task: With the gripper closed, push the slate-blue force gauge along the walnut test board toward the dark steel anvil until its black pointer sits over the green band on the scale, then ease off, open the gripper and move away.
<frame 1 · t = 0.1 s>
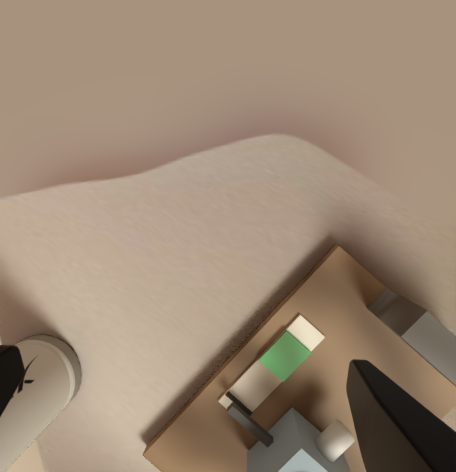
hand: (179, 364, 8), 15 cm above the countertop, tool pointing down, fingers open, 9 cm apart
force gauge: (288, 448, 21), point 3 cm above the countertop, slide at 0.0 cm
gauge board: (313, 417, 24), on the countertop
travel mug: (47, 371, 26), on the countertop
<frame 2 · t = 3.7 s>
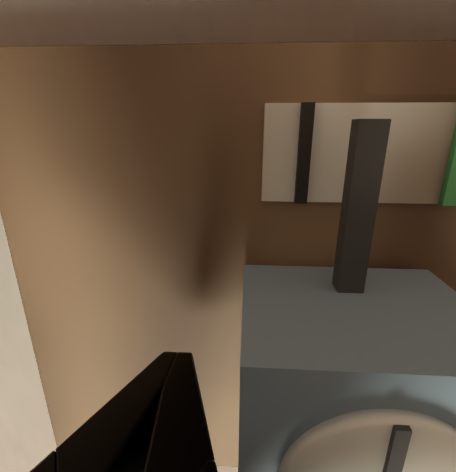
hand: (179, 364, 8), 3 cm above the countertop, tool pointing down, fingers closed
force gauge: (405, 336, 7), point 3 cm above the countertop, slide at 1.1 cm, touching gripper
gauge board: (359, 319, 11), on the countertop
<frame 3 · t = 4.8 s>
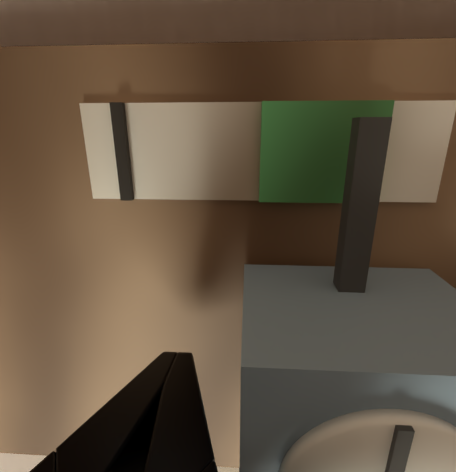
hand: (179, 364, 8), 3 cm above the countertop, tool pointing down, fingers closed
force gauge: (406, 336, 7), point 4 cm above the countertop, slide at 5.6 cm, touching gripper
gauge board: (225, 314, 11), on the countertop
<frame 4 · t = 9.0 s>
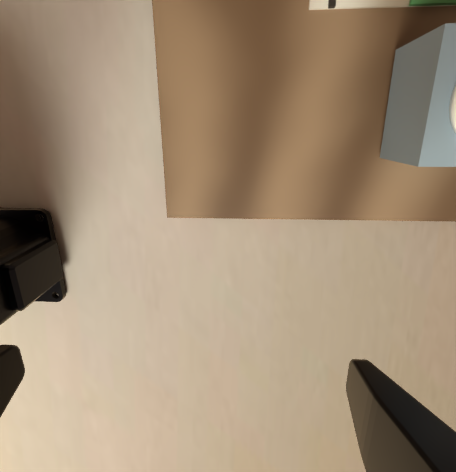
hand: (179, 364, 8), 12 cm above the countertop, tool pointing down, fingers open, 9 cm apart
gauge board: (364, 108, 17), on the countertop
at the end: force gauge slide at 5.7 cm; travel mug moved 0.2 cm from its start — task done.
